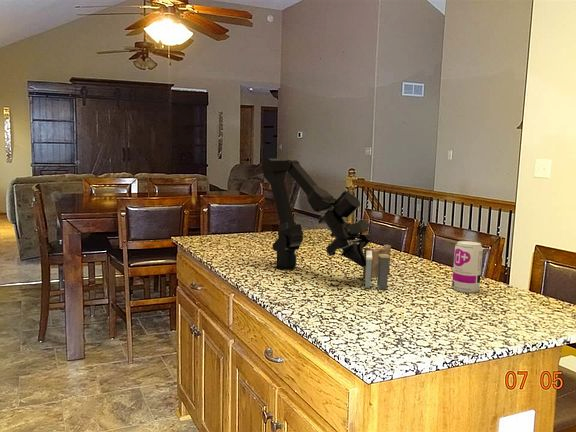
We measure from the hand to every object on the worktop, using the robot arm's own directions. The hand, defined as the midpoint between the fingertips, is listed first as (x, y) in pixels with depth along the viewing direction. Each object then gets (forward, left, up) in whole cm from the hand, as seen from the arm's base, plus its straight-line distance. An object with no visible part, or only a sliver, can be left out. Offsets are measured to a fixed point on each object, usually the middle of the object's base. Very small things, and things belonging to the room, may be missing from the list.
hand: (364, 266), depth 169 cm
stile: (+6, -2, -6) cm, 9 cm away
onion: (+5, +25, -7) cm, 26 cm away
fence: (+5, +14, -6) cm, 16 cm away
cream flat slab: (+1, +2, -6) cm, 7 cm away
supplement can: (+32, +4, -7) cm, 33 cm away
